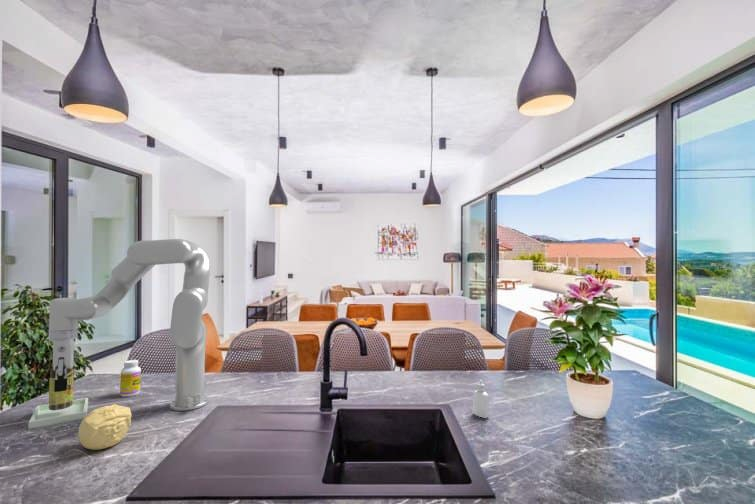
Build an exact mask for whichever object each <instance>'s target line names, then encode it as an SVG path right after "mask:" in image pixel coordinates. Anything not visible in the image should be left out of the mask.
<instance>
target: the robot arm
mask: <svg viewBox="0 0 755 504" xmlns="http://www.w3.org/2000/svg"><path fill="white" fill-rule="evenodd" d="M126 252H127V253H126V257H124V258H123V260H122V261H120V262H119V263H118V264H117V265H116V266H115V267H114V268H113V269H111V273H110V279H109V280H108V282H107V283H106V285H105V286H104V287H103V288H102V289H100V290H99V292H97V293H96V294H95V295H94V296H89V297H84V298H75V297H59V298H54V299H52V300H51V301H50V303H49V317H48V318H49V319H48V322H49V323H48V341H49V342H52V343H53V344H52V367H53V370H54V371H56V377H55V384H54V392H59V391H66V390H67V378H66V376H67V368H70V369H72V367H73V368H74V364H75V357H74V356H75V339H78V336H79V335H78V334H79V332H78V331H79V321H89V320H93V319H96V318H98V317H102V316H105V315H106V314H108V313H109V312H110V311H112V310H113V309H114V308H115V307H116V306H117V305H118V304H119V303H120V302H121V301H122V300H123V299H124V298H125V297H127V296H126V295H127V294H129V293H130V291H131V290H132V288H133V287H134V286H135V285H136V284H137V283H138V282H139V281H140V280H141V279H142V278H143V277H144V276H145V275H146V274H147V273H149V272H150V270H151V269H153V268H154V267H155V266H157V265H158V266H159V265H171V264H183V265H184V268H185V270H184V275H183V283H182V290H181V291H180V292H179V293H178V294H177V295H176V296H175V298H174V301H173V303H172V309H171V318H170V327H169V339H170V342H171V344H172V345H173V346H174V347H175V348H176V350H175V352H176V353H175V379H174V380H175V381H174V382H175V383H174V399H173V400H172V401H171V402H170V403H169V408H170V409H171V410H173V411H178V412H179V411H180V412H181V411H190V410H191V411H192V410H196V409H199V408H202V407H204V406H206V405H207V404H208V403H209V397H208V396H206V395H205V366H206V365H205V363H206V343H207V342H206V341H207V326H206V323H205V322H204V321H203V320H202V319H203V311H204V310H205V309H206V307H207V305H208V298H209V297H208V296H209V285H210V271H211V270H210V269H211V263H210V258H209V256H208V254H207V253H206V251H205V250H204V249H203V248H202V247H201V246H200V245H198V244H196V242H195V243H194V242H192V241H190V240H186V239H182V238H170V239H168V238H167V239H153V240H149V239H148V240H138V241H135V242H133V243H132V244H131V245H130V246H129V247H128V248H127V251H126ZM61 348H62V349H61ZM55 367H56V368H55ZM64 367H65V369H63V368H64ZM63 371H65V372H63Z"/></svg>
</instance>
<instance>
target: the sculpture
mask: <svg viewBox="0 0 755 504" xmlns="http://www.w3.org/2000/svg"><path fill="white" fill-rule="evenodd" d="M131 425H132V412H131V408H130V407H129V406H124V405H119V404H116V403H112V404H111V405H105V406H101V407H97V408H96V409H93V410H92V411H91V412H89V413H87V415H86V416H85V418H84V419H81V421H80V425H79V426H78V431H77V432H78V433H77V434H78V436H77V437H78V440H79V443H80V444H81V446H82V447H84V448H86V449H87V450H94V451H98V450H103V449H107V448H110V447H114V446H115V445H117V444H119V443H120V441H122V440H123V439H124V437H125V436H126V434H127V433H128V432H127V431H129V428H130V427H131Z"/></svg>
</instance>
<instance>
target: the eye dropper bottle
mask: <svg viewBox="0 0 755 504" xmlns="http://www.w3.org/2000/svg"><path fill="white" fill-rule="evenodd" d="M476 389H477V390H476ZM476 389H475V390H474V391H473V394H472V406H473V407H472V413H475V414H476V415H478V416H480V417H485V418H486V417H488V418H489V417H490V396H489V394H488V393H487V392H486V390H485V383H483V380H482V379H479V382H478V383H477V384H476ZM476 415H475V416H476ZM480 417H479V418H480ZM486 419H487V418H486Z"/></svg>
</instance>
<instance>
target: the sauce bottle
mask: <svg viewBox="0 0 755 504" xmlns="http://www.w3.org/2000/svg"><path fill="white" fill-rule="evenodd" d="M61 349H62V348H61ZM55 368H56V367H55ZM63 369H65V367H64V368H63ZM63 372H65V371H63ZM74 373H75V369H74V366H73V367H72V369H70V368H67V376H66V378H67V390H66V391H59V392H54V384H55V377H56V371H54V370H53V366H52V367H51V368H50V371H49V374H50V375H49V385H48V386H49V389H48V390H49V391H48V404H49V410H61V409H65V408H68V407H70V406H71V405H72V404H73V403H72V400H74V380H75V379H74V376H75V375H74Z"/></svg>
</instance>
